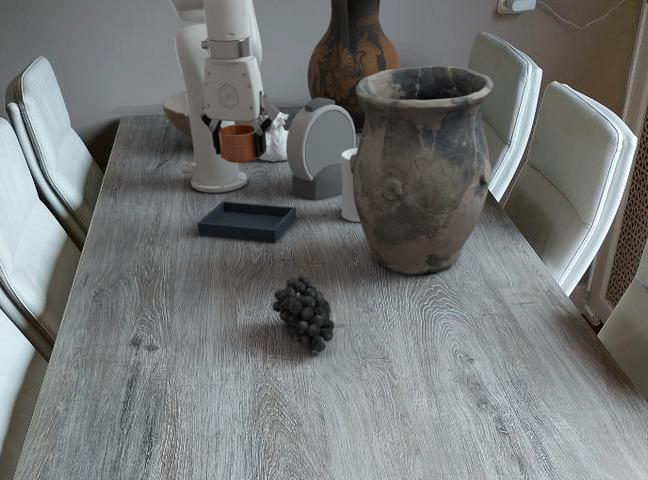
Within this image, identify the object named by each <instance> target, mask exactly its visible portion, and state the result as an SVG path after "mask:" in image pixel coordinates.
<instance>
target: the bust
mask: <svg viewBox="0 0 648 480" xmlns="http://www.w3.org/2000/svg"><path fill="white" fill-rule="evenodd" d="M267 116H268V114H267V115H264V117H263V120H264V121H265V120H266V118H267ZM288 118H289V114H288V113H287V114H286V113H283V112H281V111H279V114H278V115H277V117H276V118H275V120H274V121H273V123H272V124H271V126H270V129H269V131H265V134H266V147H267V148H266V151H265V153H264V154H263V155H262V156H261V157H260V158H259V159H260V160H261V161H268V162H272V163H275V162H280V161H281V162H282V161H287V162H288V159H287V153H286V143H287V137H288V132H289V130H285V128H284V125H286V122H285V121H287V120H288Z"/></svg>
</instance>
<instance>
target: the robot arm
mask: <svg viewBox="0 0 648 480" xmlns="http://www.w3.org/2000/svg"><path fill="white" fill-rule="evenodd" d="M168 1H169V3H170V4H171V6H172V8H173V10H174V12H175V14H176V17H178V19H179V20H180V21H182V22H183V23H189V24H190V25H188V26H185V27H183V28H182V29H180V30H179V31H178V32H177V33H176V35H175V39H174V49H175V54H176V59H177V62H178V65H179V70H180V74H181V77H182V82H183V86H184V91H185V92H186V98H187V105H188V112H189V119H190V126H191V134H192V139H191V140H192V147H193V155H194V162H192V161H182V162H181V164H180V168H181V173H182V174H187V175H188V174H191V176H192V178H191V180H190V183H191V184H190V185H191V187H192V188H193V189H195V190H196V191H199V192H202V193H211V194H213V193H214V194H215V193H216V194H217V193H227V192H232V191H236V190H238V189H241V188H242V187H244V186H245V185H246V184H247V183H248V176H247V173H245V172H243V171H241V170H240V163H232V162H228V161H226V160H225V159H223V158H222V157H221V151H220V142H219V134H218V131H219V129H221V128H222V127H225V126H229V125H235V122H234V121H237V122H250V123H251V124H252V126H253V128H254V130H255V131H256V135H254V145H255V156H256V157H257V159H258V158H259V159H260V157H261V156H262V155H263V154H264V153H265V151H266V148H267V147H266V134H265V132H268V129H269V128H271V126H272V125H271V124H272V123H273V121H274V120H275V118H276V117H277V115H278V114H279V112H280V109H279V108H278V107H277V106H276V105H274V104H273V103H272V102H271V101H270V100H269V98H268V99H267V98H265V97H264V94H265V93H264V88H263V81H262V76H261V71H260V67H261V65H262V61H263V48H262V42H261V35H260V30H259V26H258V22H257V17H256V13H255V7H254V3H253V0H168ZM263 93H264V94H263ZM265 110H266V112H267V115H268V116H267V115H266V116H267V118H266V120H265V119H264V117H263V118H262V116H261V115H262V114H263V113H264V111H265Z"/></svg>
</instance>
